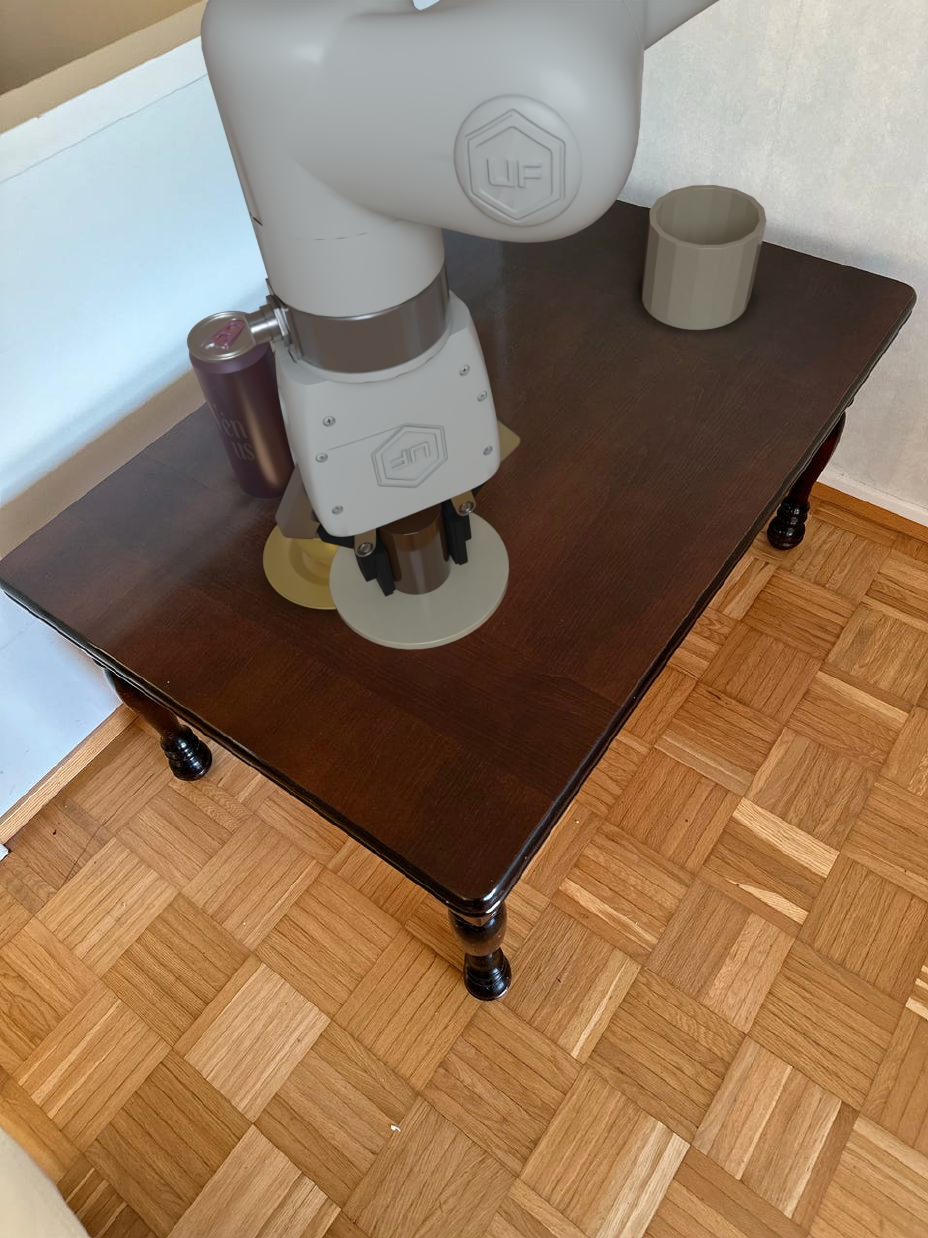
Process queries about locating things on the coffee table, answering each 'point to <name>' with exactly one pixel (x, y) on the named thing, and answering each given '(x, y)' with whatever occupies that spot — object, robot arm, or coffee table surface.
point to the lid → (423, 583)
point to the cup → (300, 569)
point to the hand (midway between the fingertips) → (417, 561)
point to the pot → (701, 256)
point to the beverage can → (243, 402)
